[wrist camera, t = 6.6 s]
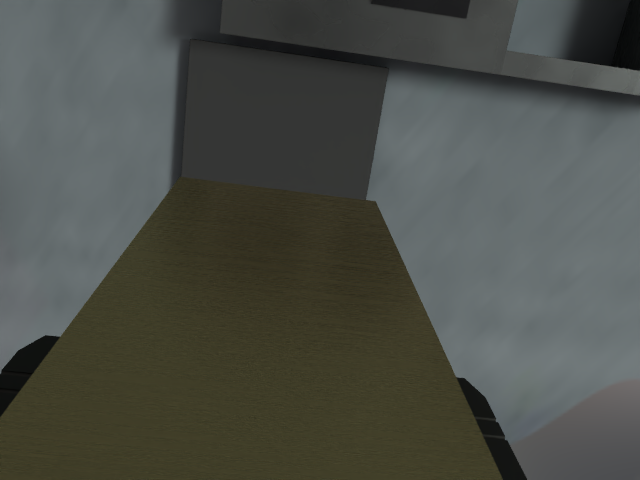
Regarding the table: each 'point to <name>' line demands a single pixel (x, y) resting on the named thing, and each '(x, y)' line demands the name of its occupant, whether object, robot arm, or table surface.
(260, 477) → the brass block
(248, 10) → the rail
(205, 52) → the rubber mat
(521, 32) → the table surface
